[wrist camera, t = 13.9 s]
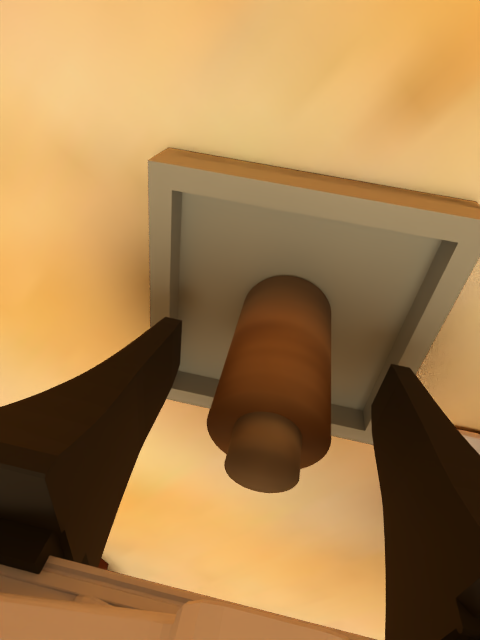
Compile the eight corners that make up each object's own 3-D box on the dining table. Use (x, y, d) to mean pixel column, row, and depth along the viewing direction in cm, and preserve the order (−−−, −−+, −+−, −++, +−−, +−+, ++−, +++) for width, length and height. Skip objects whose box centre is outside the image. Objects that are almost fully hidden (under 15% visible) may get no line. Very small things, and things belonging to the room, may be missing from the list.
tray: (372, 413, 19) (377, 446, 18) (165, 367, 20) (151, 395, 18) (476, 201, 13) (498, 223, 11) (168, 147, 14) (148, 160, 12)
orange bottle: (325, 351, 17) (321, 517, 11) (243, 341, 17) (200, 495, 12) (337, 280, 14) (341, 441, 9) (243, 271, 15) (190, 418, 9)
